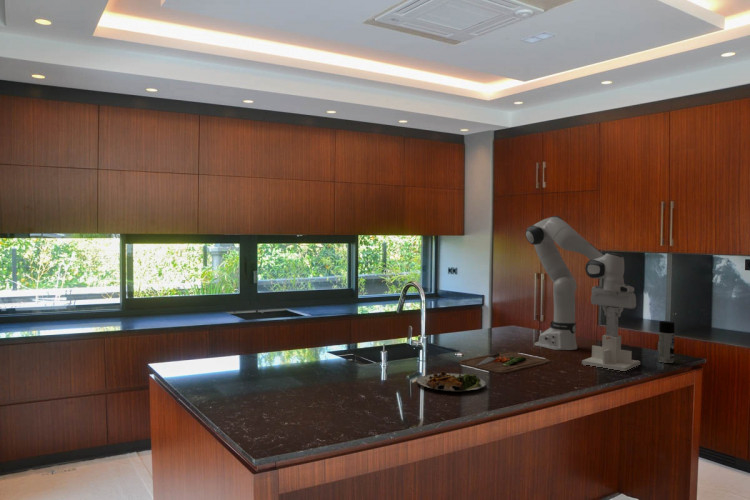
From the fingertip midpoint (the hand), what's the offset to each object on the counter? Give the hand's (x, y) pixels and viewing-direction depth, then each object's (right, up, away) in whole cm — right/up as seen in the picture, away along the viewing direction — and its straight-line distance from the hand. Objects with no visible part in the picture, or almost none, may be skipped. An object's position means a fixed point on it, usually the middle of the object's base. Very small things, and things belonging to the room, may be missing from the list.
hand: (612, 316), depth 273 cm
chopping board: (-51, -23, +3) cm, 56 cm away
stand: (0, -23, +1) cm, 23 cm away
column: (0, -14, 0) cm, 14 cm away
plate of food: (-82, -24, -39) cm, 94 cm away
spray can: (+29, -24, +7) cm, 38 cm away
